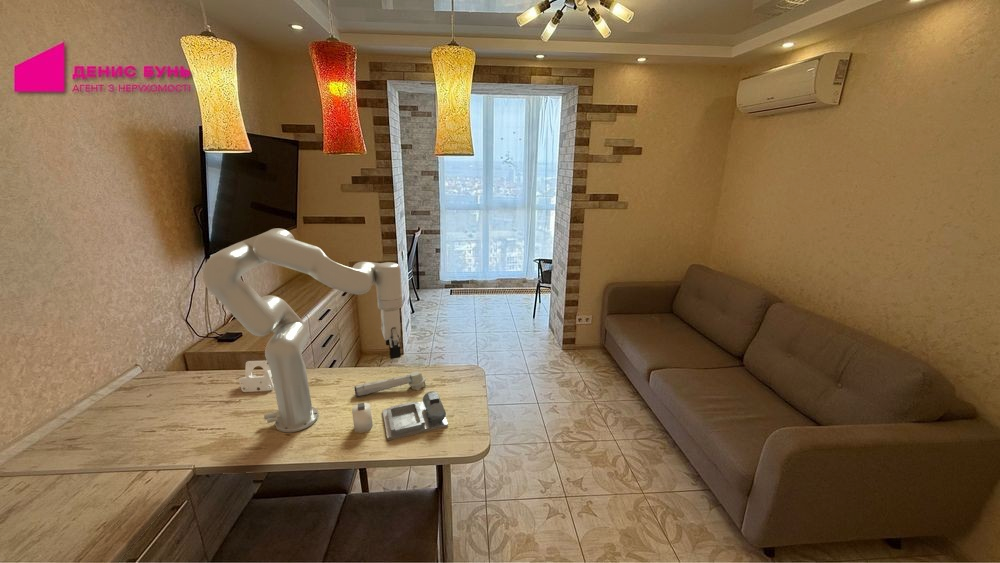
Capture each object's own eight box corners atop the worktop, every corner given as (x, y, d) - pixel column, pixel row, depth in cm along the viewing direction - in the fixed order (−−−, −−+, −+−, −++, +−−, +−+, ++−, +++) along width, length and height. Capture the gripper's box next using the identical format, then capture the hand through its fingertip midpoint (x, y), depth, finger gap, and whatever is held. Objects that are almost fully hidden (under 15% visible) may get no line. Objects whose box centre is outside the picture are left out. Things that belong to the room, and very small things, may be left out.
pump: (354, 434, 122) (351, 412, 120) (353, 423, 127) (351, 401, 125) (373, 430, 124) (370, 408, 122) (371, 419, 129) (369, 398, 127)
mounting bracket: (279, 388, 150) (279, 359, 151) (271, 390, 143) (272, 361, 145) (245, 390, 148) (246, 361, 149) (236, 392, 142) (237, 362, 143)
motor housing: (387, 440, 120) (385, 418, 117) (382, 412, 133) (380, 391, 130) (447, 426, 126) (447, 404, 124) (437, 400, 140) (436, 380, 137)
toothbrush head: (354, 382, 143) (422, 365, 149) (359, 397, 146) (425, 380, 151) (353, 390, 139) (423, 372, 144) (358, 406, 141) (427, 387, 146)
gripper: (374, 294, 129) (378, 341, 134) (380, 313, 113) (384, 365, 118) (397, 292, 131) (400, 338, 136) (406, 310, 116) (409, 361, 121)
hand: (393, 350), depth 127 cm, fingers open, 9 cm apart
